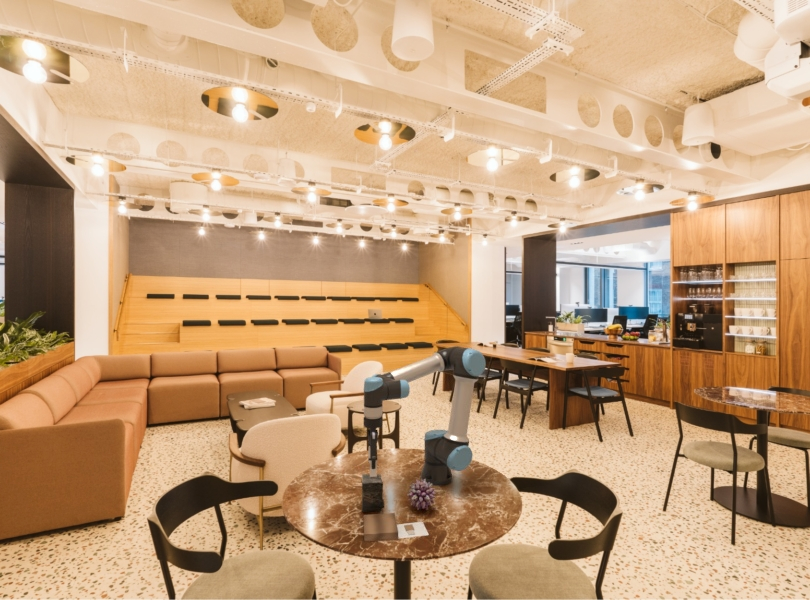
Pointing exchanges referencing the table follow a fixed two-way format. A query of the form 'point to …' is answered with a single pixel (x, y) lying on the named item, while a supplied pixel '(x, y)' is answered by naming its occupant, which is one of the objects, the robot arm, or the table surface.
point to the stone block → (372, 493)
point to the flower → (421, 494)
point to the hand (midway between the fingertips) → (372, 469)
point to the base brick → (380, 527)
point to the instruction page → (411, 530)
